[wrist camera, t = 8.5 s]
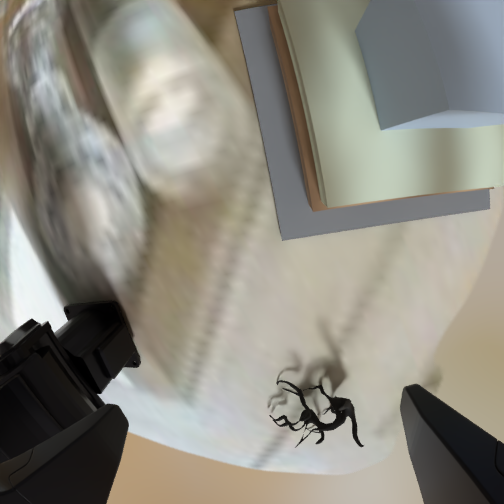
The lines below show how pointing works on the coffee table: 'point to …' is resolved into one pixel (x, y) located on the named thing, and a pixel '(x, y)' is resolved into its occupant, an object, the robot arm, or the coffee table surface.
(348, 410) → the creature
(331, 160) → the plinth
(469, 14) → the top block
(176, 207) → the coffee table surface
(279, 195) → the grey square plate
